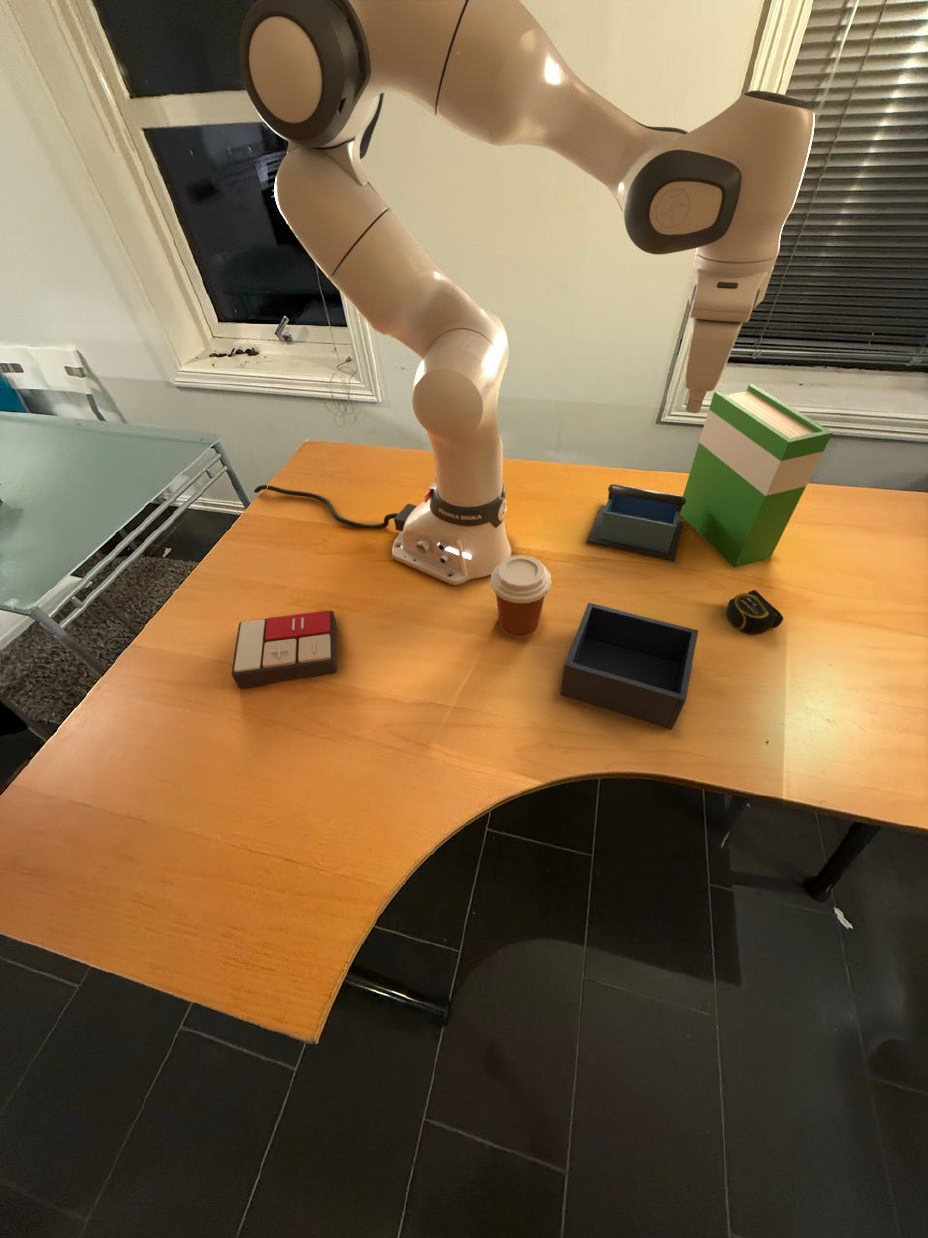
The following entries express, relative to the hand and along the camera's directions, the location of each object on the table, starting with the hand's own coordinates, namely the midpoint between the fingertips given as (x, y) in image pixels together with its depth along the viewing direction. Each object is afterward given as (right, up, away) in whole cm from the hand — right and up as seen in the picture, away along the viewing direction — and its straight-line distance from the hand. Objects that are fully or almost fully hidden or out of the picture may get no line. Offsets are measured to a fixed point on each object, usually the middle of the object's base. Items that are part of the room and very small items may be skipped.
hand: (696, 395), depth 73 cm
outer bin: (-9, -40, +4) cm, 42 cm away
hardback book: (+16, -15, +26) cm, 34 cm away
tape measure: (+13, -31, +11) cm, 36 cm away
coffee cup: (-23, -32, +13) cm, 42 cm away
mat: (0, -15, +27) cm, 31 cm away
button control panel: (-60, -37, +11) cm, 72 cm away
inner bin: (+1, -14, +26) cm, 30 cm away
